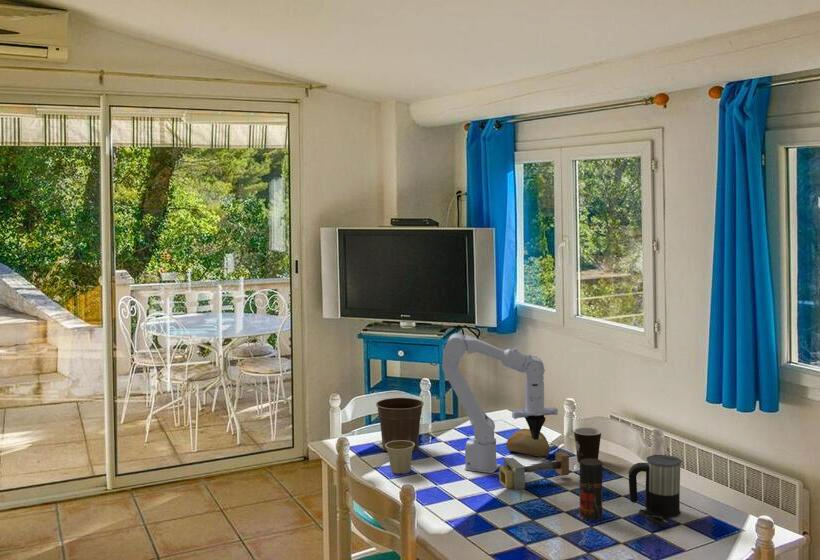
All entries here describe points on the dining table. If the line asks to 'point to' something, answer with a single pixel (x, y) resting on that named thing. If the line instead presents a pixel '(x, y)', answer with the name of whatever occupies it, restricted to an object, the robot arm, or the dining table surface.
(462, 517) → the dining table surface
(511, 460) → the bearing
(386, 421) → the plant pot
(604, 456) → the dining table surface
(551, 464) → the shaft
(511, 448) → the bread roll
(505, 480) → the frame
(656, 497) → the milk frother
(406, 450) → the flower pot
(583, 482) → the deodorant
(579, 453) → the coffee mug
